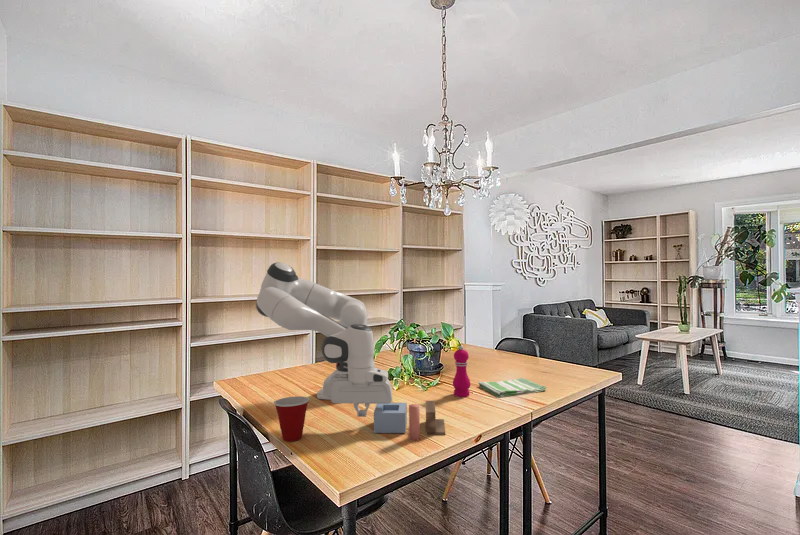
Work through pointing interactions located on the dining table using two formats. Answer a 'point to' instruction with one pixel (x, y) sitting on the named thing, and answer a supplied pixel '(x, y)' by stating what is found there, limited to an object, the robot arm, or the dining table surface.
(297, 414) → the plastic cup
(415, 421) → the dowel
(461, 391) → the pepper mill
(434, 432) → the brown l-shaped block
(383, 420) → the blue-grey slotted block
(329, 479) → the dining table surface
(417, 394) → the dining table surface
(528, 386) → the dish towel
